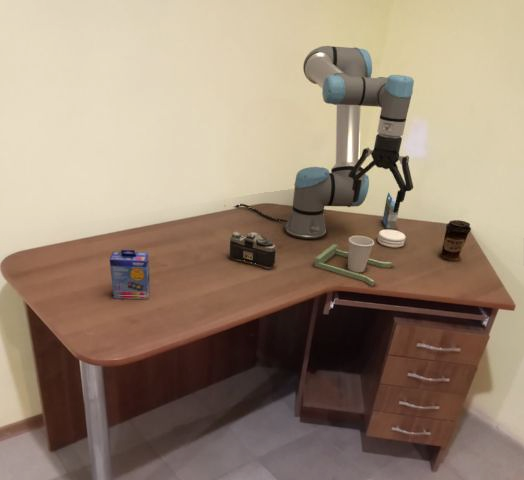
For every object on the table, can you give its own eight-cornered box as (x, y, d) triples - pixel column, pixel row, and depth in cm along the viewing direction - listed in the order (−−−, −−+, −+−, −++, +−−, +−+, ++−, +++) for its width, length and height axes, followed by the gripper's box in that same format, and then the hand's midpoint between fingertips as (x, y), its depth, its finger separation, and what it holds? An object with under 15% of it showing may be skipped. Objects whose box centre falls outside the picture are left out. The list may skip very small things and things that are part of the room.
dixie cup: (338, 266, 174) (343, 238, 168) (356, 261, 178) (361, 233, 173) (356, 276, 169) (361, 247, 163) (373, 270, 173) (379, 242, 167)
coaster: (374, 244, 192) (376, 235, 190) (380, 235, 200) (381, 227, 198) (401, 250, 190) (403, 241, 188) (405, 241, 197) (408, 232, 195)
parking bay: (312, 267, 171) (313, 259, 170) (334, 250, 185) (335, 242, 183) (372, 286, 163) (374, 277, 162) (391, 266, 177) (393, 258, 175)
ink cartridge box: (112, 299, 144) (107, 250, 136) (115, 290, 149) (111, 242, 141) (148, 300, 145) (146, 252, 137) (150, 291, 150) (148, 244, 142)
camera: (282, 260, 175) (285, 231, 169) (269, 271, 167) (272, 242, 161) (240, 249, 180) (242, 221, 174) (226, 259, 172) (227, 230, 166)
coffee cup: (462, 264, 183) (473, 229, 176) (438, 260, 184) (448, 225, 177) (460, 254, 190) (470, 220, 183) (437, 251, 191) (446, 217, 184)
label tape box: (395, 229, 207) (402, 199, 200) (385, 228, 207) (391, 198, 200) (391, 221, 214) (397, 192, 208) (381, 220, 214) (387, 191, 208)
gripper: (345, 129, 154) (334, 199, 166) (427, 145, 144) (409, 219, 156) (355, 125, 159) (343, 194, 171) (435, 141, 149) (417, 212, 161)
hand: (375, 206), depth 164 cm, fingers open, 13 cm apart
